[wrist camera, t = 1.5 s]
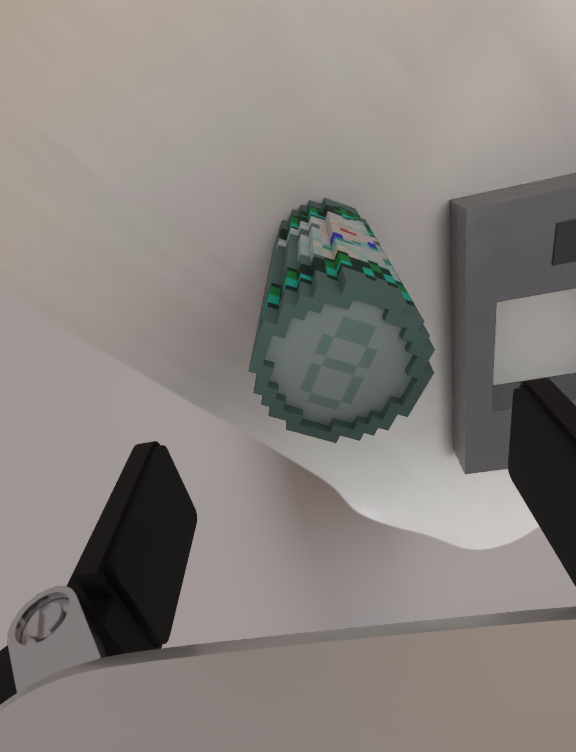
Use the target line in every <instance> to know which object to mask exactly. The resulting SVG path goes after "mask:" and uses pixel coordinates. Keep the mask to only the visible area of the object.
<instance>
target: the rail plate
mask: <svg viewBox="0 0 576 752" xmlns="http://www.w3.org/2000/svg"><path fill="white" fill-rule="evenodd" d="M450 239H451V313H452V388H453V449H454V451H455V453H456V455H457V458H458V460H459V462H460V464H461V467H462V469H463V471H464V473H465V474H470V473H478V472H486V471H493V470H501V469H508V456H509V442H510V428H511V414H512V400H513V391H514V389H515V388H519V387H520V384H521V382H516V383H509V384H503V385H496V386H493V369H494V346H495V324H496V302H501V301H506V300H512V299H517V298H523V297H529V296H534V295H540V294H545V293H551V292H557V291H562V290H568V289H574V288H576V173H575V174H570V175H565V176H560V177H556V178H551V179H546V180H542V181H537V182H532V183H527V184H523V185H518V186H513V187H508V188H504V189H499V190H494V191H489V192H485V193H480V194H475V195H471V196H466V197H461V198H456V199H452V200H450ZM548 378H549V379H550V380H551V381H552V382H553V383H554V384H555V385H556V386H557V387H558V388H559V389H560V390H561V391H562V392H563V393H564V394H565V395H566V396H567V397H568V398H569V399H570V400H571V401H572V402H573V403H574V404H575V406H576V373H574V374H568V375H561V376H555V377H548ZM522 382H523V381H522Z"/></svg>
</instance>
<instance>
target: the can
mask: <svg viewBox="0 0 576 752" xmlns="http://www.w3.org/2000/svg"><path fill="white" fill-rule="evenodd" d="M423 323H424V320H423V318H422V317H421V315H420V313H419V311H418V310H417V308H416V306H415V305H414V303H413V301H412V299H411V298H410V296H409V294H408V293H407V291H406V289H405V287H404V286H403V284H402V282H401V281H400V279H399V277H398V275H397V274H396V272H395V270H394V269H393V267H392V265H391V263H390V262H389V260H388V258H387V256H386V255H385V253H384V251H383V250H382V248H381V246H380V244H379V243H378V241H377V239H376V238H375V236H374V234H373V232H372V231H371V229H370V227H369V226H368V224H367V222H366V220H364V219H361V218H360V216H359V214H358V213H357V211H356V209H354V208H351V207H349V206H346V205H343V204H340V203H337V202H335V201H332V200H329V199H326V198H324V200H323V203H322V204H319V203H316V202H313V201H310V200H309V203H308V206H307V207H306V206H303V205H301V206H300V209H299V211H296V210H292V213H291V216H290V219H289V222H286V221H283V220H282V223H281V226H280V230H279V233H278V236H277V239H276V243H275V246H274V249H273V253H272V258H271V263H270V268H269V273H268V278H267V283H266V288H265V293H264V297H263V302H262V307H261V312H260V317H259V322H258V327H257V332H256V337H255V342H254V347H253V351H252V356H251V361H250V366H249V372H252V373H256V374H257V375H256V381H255V387H254V392H253V393H256V394H259V395H262V402H261V405H265V406H268V407H270V408H269V416H271V417H275V418H279V419H282V420H286V430H290V431H294V432H297V433H301V434H305V435H308V436H312V437H316V438H319V439H323V440H327V441H331V442H334V443H336V442H337V440H338V438H339V436H340V435H341V436H344V437H348V438H352V439H355V440H359V441H360V439H361V437H362V436H363V434H364V433H366V434H370V435H373V436H374V434H375V433H376V431H377V429H378V428H381V429H385V430H389V428H390V426H391V425H392V423H393V421H394V419H395V418H396V416H397V414H399V415H402V416H406V417H408V416H409V414H410V412H411V411H412V409H413V407H414V406H415V404H416V402H417V400H418V399H419V397H420V395H421V394H422V392H423V390H424V389H425V387H426V385H427V384H428V382H429V380H430V379H431V377H432V375H433V374H434V371H433V369H432V367H431V365H430V363H429V359H430V357H431V355H432V354H433V352H434V350H435V349H434V347H433V345H432V344H431V342H430V340H429V336H430V335H429V334H428V332H427V330H426V328H425V327H424V325H423Z"/></svg>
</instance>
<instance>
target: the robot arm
mask: <svg viewBox="0 0 576 752" xmlns="http://www.w3.org/2000/svg"><path fill="white" fill-rule="evenodd" d="M508 471H509V475H510V477H511V479H512V481H513V483H514V484H515V486H516V488H517V489H518V491H519V493H520V494H521V496H522V498H523V499H524V501H525V503H526V504H527V506H528V508H529V509H530V511H531V513H532V514H533V516H534V518H535V519H536V521H537V523H538V524H539V526H540V528H541V529H542V531H543V533H544V534H545V536H546V538H547V539H548V541H549V543H550V544H551V546H552V548H553V549H554V551H555V553H556V554H557V556H558V558H559V559H560V561H561V563H562V564H563V566H564V568H565V570H566V571H567V573H568V574H569V576H570V578H571V580H572V581H573V583H574V585H575V586H576V406H575V404H574V403H573V402H572V401H571V400H570V399H569V398H568V397H567V396H566V395H565V394H564V393H563V392H562V391H561V390H560V389H559V388H558V387H557V386H556V385H555V384H554V383H553V382H552V381H551V380H550V379H549V378H540V379H534V380H528V381H523V382H521V384H520V387H519V388H515V389H514V391H513V400H512V414H511V428H510V442H509V456H508ZM196 524H197V513H196V509H195V507H194V505H193V503H192V501H191V499H190V496H189V494H188V492H187V490H186V488H185V486H184V484H183V482H182V479H181V477H180V475H179V473H178V471H177V469H176V467H175V465H174V462H173V460H172V458H171V456H170V454H169V452H168V449H167V448H166V447H165V446H164V445H162V446H161V445H160V444H159V443H158V442H156V441H154V442H148V443H142V444H137V445H135V447H134V448H133V450H132V452H131V454H130V456H129V458H128V460H127V462H126V464H125V467H124V469H123V471H122V473H121V475H120V477H119V479H118V481H117V483H116V485H115V487H114V489H113V492H112V493H111V495H110V498H109V500H108V502H107V504H106V506H105V508H104V510H103V512H102V514H101V516H100V518H99V520H98V522H97V524H96V527H95V529H94V531H93V533H92V535H91V537H90V539H89V541H88V543H87V545H86V547H85V549H84V551H83V554H82V555H81V557H80V560H79V562H78V564H77V566H76V568H75V570H74V572H73V574H72V576H71V578H70V580H69V582H68V584H67V586H56V587H53V588H50V589H47V590H45V591H43V592H41V593H40V594H38V595H36V596H35V597H34V598H32V599H31V600H30V601H29V602H28V603H26V604H25V606H24V607H23V608H22V609H21V610H20V611H19V612H18V614H17V615H16V617H15V618H14V620H13V621H12V623H11V626H10V628H9V631H8V637H7V644H8V645H7V646H6V647H5V648H3V649H2V650H1V651H0V752H576V607H563V608H550V609H538V610H526V611H516V612H506V613H496V614H485V615H476V616H465V617H455V618H444V619H434V620H425V621H424V620H423V621H414V622H404V623H395V624H384V625H374V626H364V627H355V628H345V629H336V630H326V631H316V632H306V633H297V634H287V635H279V636H269V637H261V638H252V639H241V640H232V641H223V642H214V643H204V644H196V645H187V646H180V647H171V648H163V649H161V648H162V644H166V643H167V641H168V639H169V636H170V633H171V629H172V624H173V620H174V616H175V612H176V607H177V604H178V599H179V595H180V591H181V587H182V582H183V578H184V574H185V570H186V565H187V562H188V557H189V553H190V549H191V545H192V541H193V536H194V532H195V528H196Z"/></svg>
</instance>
